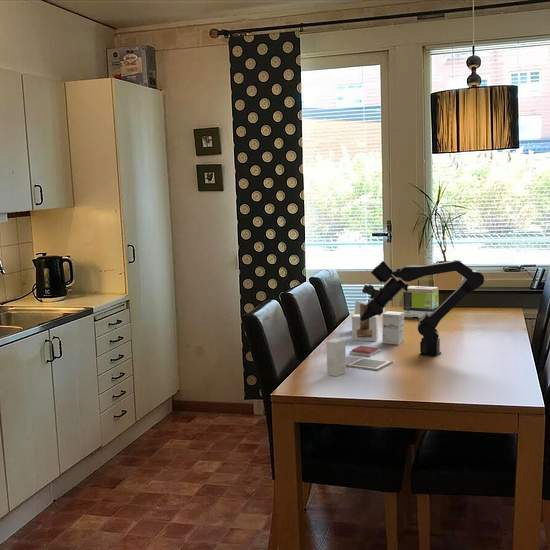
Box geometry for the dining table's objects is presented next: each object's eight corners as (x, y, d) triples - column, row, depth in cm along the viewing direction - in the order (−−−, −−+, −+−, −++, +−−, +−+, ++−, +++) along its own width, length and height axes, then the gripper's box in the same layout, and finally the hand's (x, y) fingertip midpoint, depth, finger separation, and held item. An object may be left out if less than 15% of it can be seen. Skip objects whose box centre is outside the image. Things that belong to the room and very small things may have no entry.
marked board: (393, 362, 255) (393, 361, 255) (377, 371, 244) (377, 369, 244) (361, 358, 262) (361, 357, 262) (345, 366, 251) (345, 364, 251)
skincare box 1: (336, 370, 246) (335, 337, 244) (346, 372, 243) (345, 339, 242) (326, 374, 241) (325, 341, 240) (336, 376, 238) (336, 342, 237)
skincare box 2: (378, 338, 297) (378, 314, 296) (376, 341, 291) (376, 316, 290) (354, 337, 300) (353, 313, 299) (351, 340, 294) (351, 316, 292)
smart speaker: (378, 332, 309) (378, 301, 308) (360, 334, 306) (360, 302, 304) (368, 328, 318) (367, 298, 316) (350, 330, 315) (349, 299, 313)
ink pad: (380, 351, 272) (380, 347, 272) (370, 356, 265) (370, 352, 265) (360, 349, 277) (359, 345, 277) (349, 354, 270) (349, 349, 270)
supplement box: (381, 343, 287) (381, 313, 285) (387, 340, 293) (387, 310, 292) (399, 345, 283) (399, 314, 282) (404, 341, 290) (404, 311, 288)
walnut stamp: (372, 334, 273) (372, 303, 271) (372, 337, 267) (371, 305, 265) (357, 334, 274) (357, 303, 272) (356, 337, 268) (356, 305, 266)
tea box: (439, 316, 343) (439, 286, 342) (432, 319, 335) (432, 289, 333) (410, 313, 351) (410, 285, 350) (402, 317, 343) (402, 287, 341)
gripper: (375, 273, 276) (347, 300, 279) (373, 279, 258) (344, 309, 261) (395, 293, 275) (367, 320, 279) (395, 300, 257) (365, 329, 260)
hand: (361, 319), depth 270 cm, fingers closed on walnut stamp, 4 cm apart
